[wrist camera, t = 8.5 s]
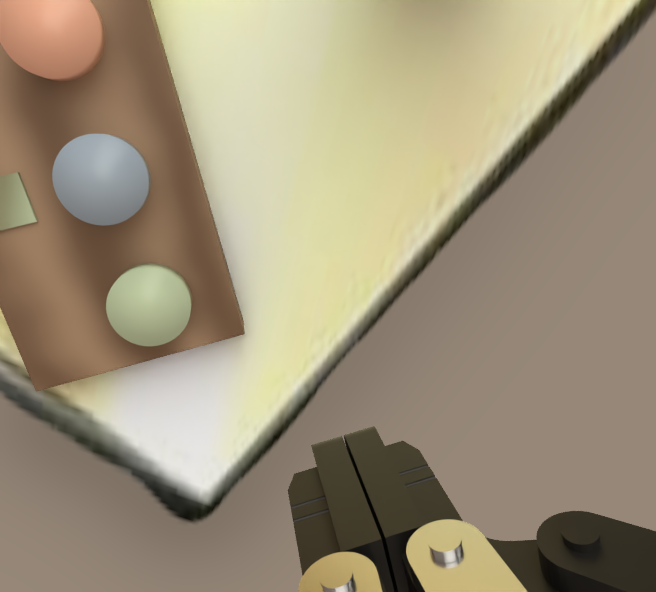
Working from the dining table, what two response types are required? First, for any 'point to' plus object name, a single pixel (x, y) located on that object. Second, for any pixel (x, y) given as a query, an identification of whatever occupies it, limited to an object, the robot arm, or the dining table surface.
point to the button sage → (149, 304)
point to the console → (97, 240)
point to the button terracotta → (52, 36)
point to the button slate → (101, 179)
